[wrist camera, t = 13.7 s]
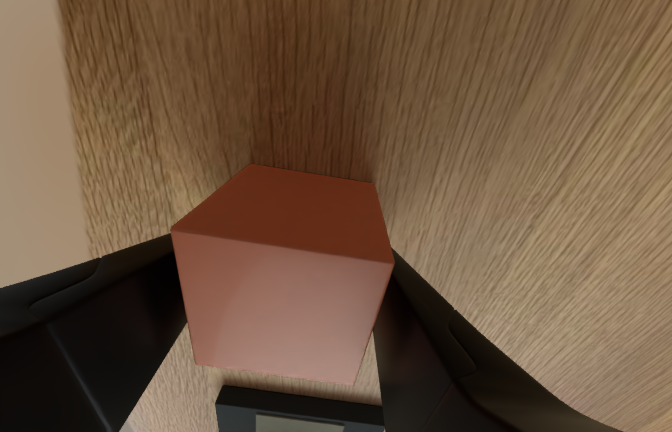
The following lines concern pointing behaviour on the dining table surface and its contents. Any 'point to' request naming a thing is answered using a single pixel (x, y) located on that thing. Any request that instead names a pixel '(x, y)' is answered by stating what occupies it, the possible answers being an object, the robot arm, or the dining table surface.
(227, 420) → the word board
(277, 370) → the reddish brown cube
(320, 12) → the dining table surface
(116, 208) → the dining table surface
